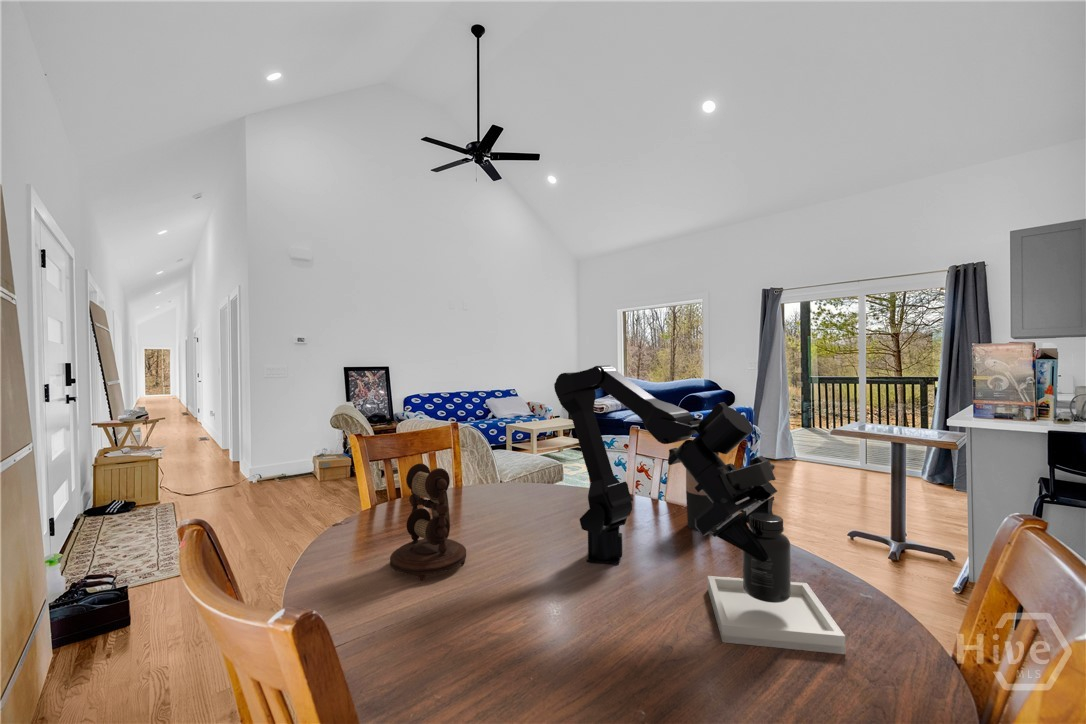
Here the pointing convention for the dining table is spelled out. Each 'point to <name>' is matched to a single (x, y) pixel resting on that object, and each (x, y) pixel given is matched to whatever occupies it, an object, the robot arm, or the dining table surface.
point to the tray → (774, 618)
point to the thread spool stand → (428, 527)
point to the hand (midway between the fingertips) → (775, 553)
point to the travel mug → (695, 501)
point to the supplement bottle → (768, 561)
